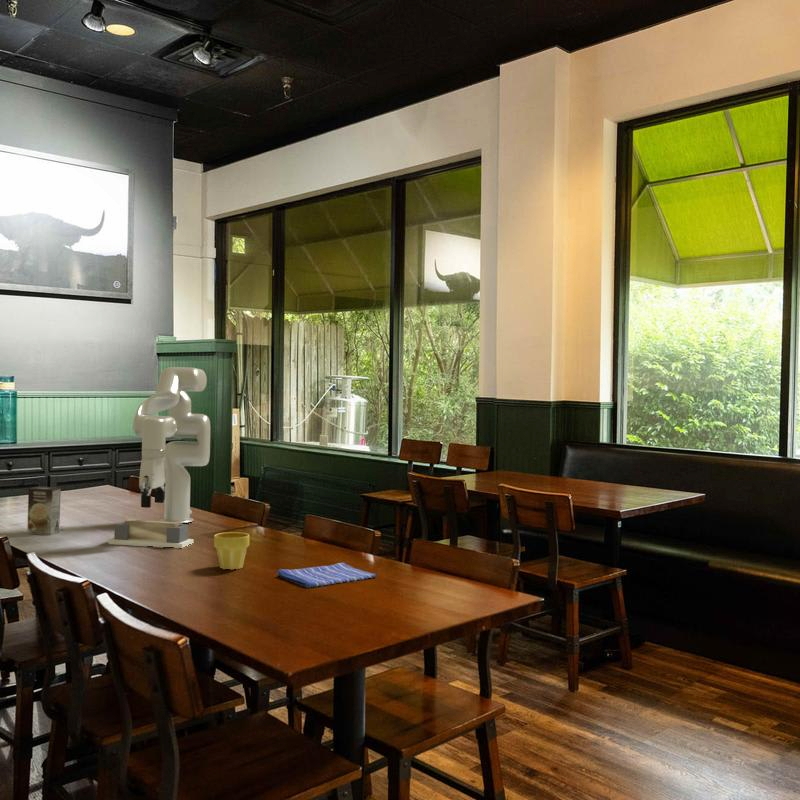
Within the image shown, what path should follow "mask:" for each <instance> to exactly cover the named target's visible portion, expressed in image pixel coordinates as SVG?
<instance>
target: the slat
mask: <svg viewBox="0 0 800 800" xmlns="http://www.w3.org/2000/svg"><path fill="white" fill-rule="evenodd" d="M124 521H125V524H129V539H141V540H158V541H167V527H179V522H163V521H160V520H143V519H142V520H141V519H126V520H124Z"/></svg>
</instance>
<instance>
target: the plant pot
mask: <svg viewBox="0 0 800 800" xmlns="http://www.w3.org/2000/svg"><path fill="white" fill-rule="evenodd" d="M250 542H251V541H250V534H249V533H246V532H238V531H237V532H236V531H235V532H233V531H229V532H219V533H216V534H214V535H213V546H214V548H216V553H217V560H218V564H219V568H220V569H221V568H222V570H225V569H230V570H229V571H233V570H234V569H236V570H241V569H242V568H243V567H244V562H245V558H246V554H247V549H248V547H249V546H250ZM234 571H235V570H234Z"/></svg>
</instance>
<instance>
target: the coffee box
mask: <svg viewBox="0 0 800 800" xmlns="http://www.w3.org/2000/svg"><path fill="white" fill-rule="evenodd" d="M61 491H62V488H61V487H54V486H40V485H38V486H35V487H30V488H28V497H27V498H28V499H27V501H28V502H27V526H26V527H27V529H26V534H29V535H30V534H31V535H41V536H42V535H45V536H47V535H48V536H52V535H54V534H57V533H60V523H61V493H62V492H61Z"/></svg>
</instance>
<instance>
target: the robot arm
mask: <svg viewBox="0 0 800 800" xmlns="http://www.w3.org/2000/svg"><path fill="white" fill-rule="evenodd" d="M207 382H208V379H207V375H206V373H205V370H204V369H200V368H196V367H188V366H187V367H186V366H170V367H166V368H164V369H163V370H161V372H160V375H159V379H158V382H157V383H158V384H157V387H156V389H155V390H156V391H155V394H152V395H151V396H149V397H148V398H147V399H145V400H144V401H143V402H142V403H140V405H139V406H138V407H137V409H136V411H135V415H134V418H133V423H132V429H133V433H134V435H136V436H137V437H140V438H142V439H141V462H140V468H139V469H140V470H139V481H138V482H139V484H138V487H139V492H140V507H141V508H146V509H150V508H152V507H151V506H152V496H151V493H152V490H154V503H157V504H164V512H163V514H164V516H163V518H160V519H159V521H163V522H179V523H188V522H192V521H193V520H194V518H192V517H190V515H192V513H193V511H192V509H191V506H190V505H191V476H190V473H189V472H188V470H187V468H185V467H204V466H207V465H208V464H209V463H210V457H211V421H210V417H209V416H208V415H206V414H204V413H192V400H191V398H190V396H189V394H188V393H187V392H203V391H204V390H205V389H206V387H207ZM167 410H168V415H154V414H158V413H162V412H165V411H167ZM172 437H173V438H177V439H178V438H179V439H180V438H181V439H196V440H197V441H188V440H186V441H185V440H184V441H183V440H182V441H181V440H173V441H170V442H168V443H166V441H167V440H166V438H172ZM192 523H193V522H192Z"/></svg>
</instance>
